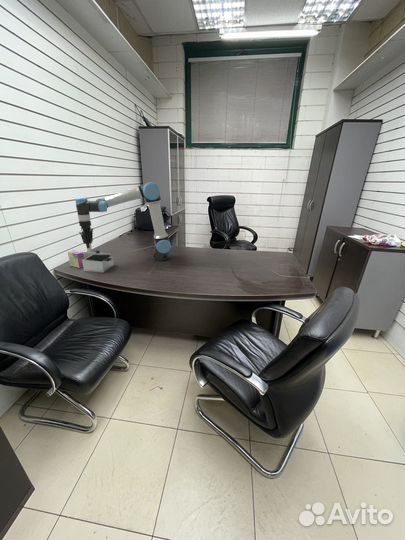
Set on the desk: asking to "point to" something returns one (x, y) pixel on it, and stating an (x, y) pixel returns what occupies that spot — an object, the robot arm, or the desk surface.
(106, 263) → the grey boxy piece
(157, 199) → the robot arm
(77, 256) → the box
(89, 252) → the lid
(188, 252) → the desk surface
